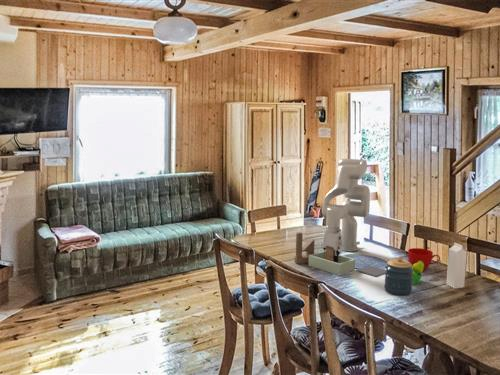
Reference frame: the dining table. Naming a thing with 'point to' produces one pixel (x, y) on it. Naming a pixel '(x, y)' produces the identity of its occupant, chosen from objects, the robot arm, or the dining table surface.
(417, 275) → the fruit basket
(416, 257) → the ceramic cup
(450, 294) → the dining table surface
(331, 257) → the walnut block
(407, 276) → the canister
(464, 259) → the milk
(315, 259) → the box
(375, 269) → the felt pad
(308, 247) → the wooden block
